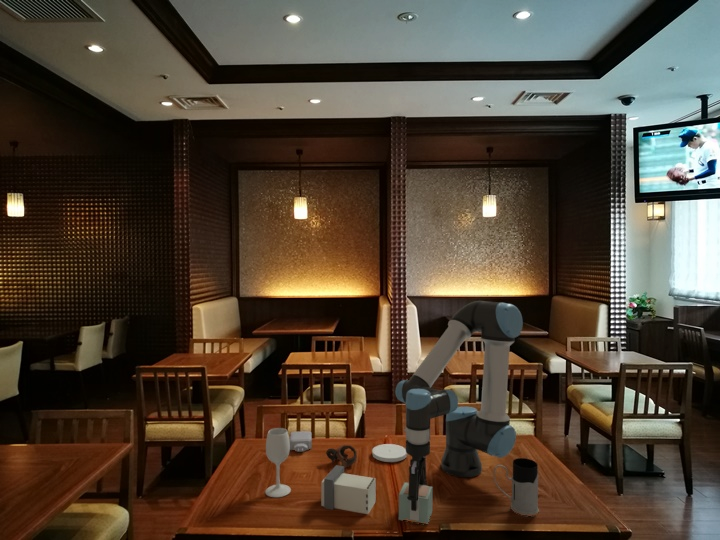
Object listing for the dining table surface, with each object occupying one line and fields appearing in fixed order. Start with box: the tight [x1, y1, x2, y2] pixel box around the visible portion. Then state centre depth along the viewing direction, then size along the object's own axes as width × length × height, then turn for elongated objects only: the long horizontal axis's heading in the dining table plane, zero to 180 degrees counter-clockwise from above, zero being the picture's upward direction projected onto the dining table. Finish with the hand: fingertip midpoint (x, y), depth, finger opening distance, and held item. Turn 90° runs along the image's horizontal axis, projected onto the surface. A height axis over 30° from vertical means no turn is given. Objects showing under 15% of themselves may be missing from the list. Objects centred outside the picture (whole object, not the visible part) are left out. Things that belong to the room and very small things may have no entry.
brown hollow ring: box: [325, 444, 358, 470], centre depth 184 cm, size 12×10×8 cm
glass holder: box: [493, 457, 540, 515], centre depth 152 cm, size 9×14×15 cm, turn 81°
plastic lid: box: [371, 443, 408, 463], centre depth 192 cm, size 14×14×2 cm
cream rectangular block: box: [320, 464, 377, 515], centre depth 155 cm, size 16×10×10 cm, turn 71°
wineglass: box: [264, 427, 292, 498], centre depth 163 cm, size 9×9×21 cm
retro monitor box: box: [398, 481, 433, 525], centre depth 147 cm, size 9×8×8 cm
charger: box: [289, 430, 313, 453], centre depth 199 cm, size 5×9×15 cm
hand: (417, 511), depth 147 cm, fingers closed on retro monitor box, 8 cm apart
